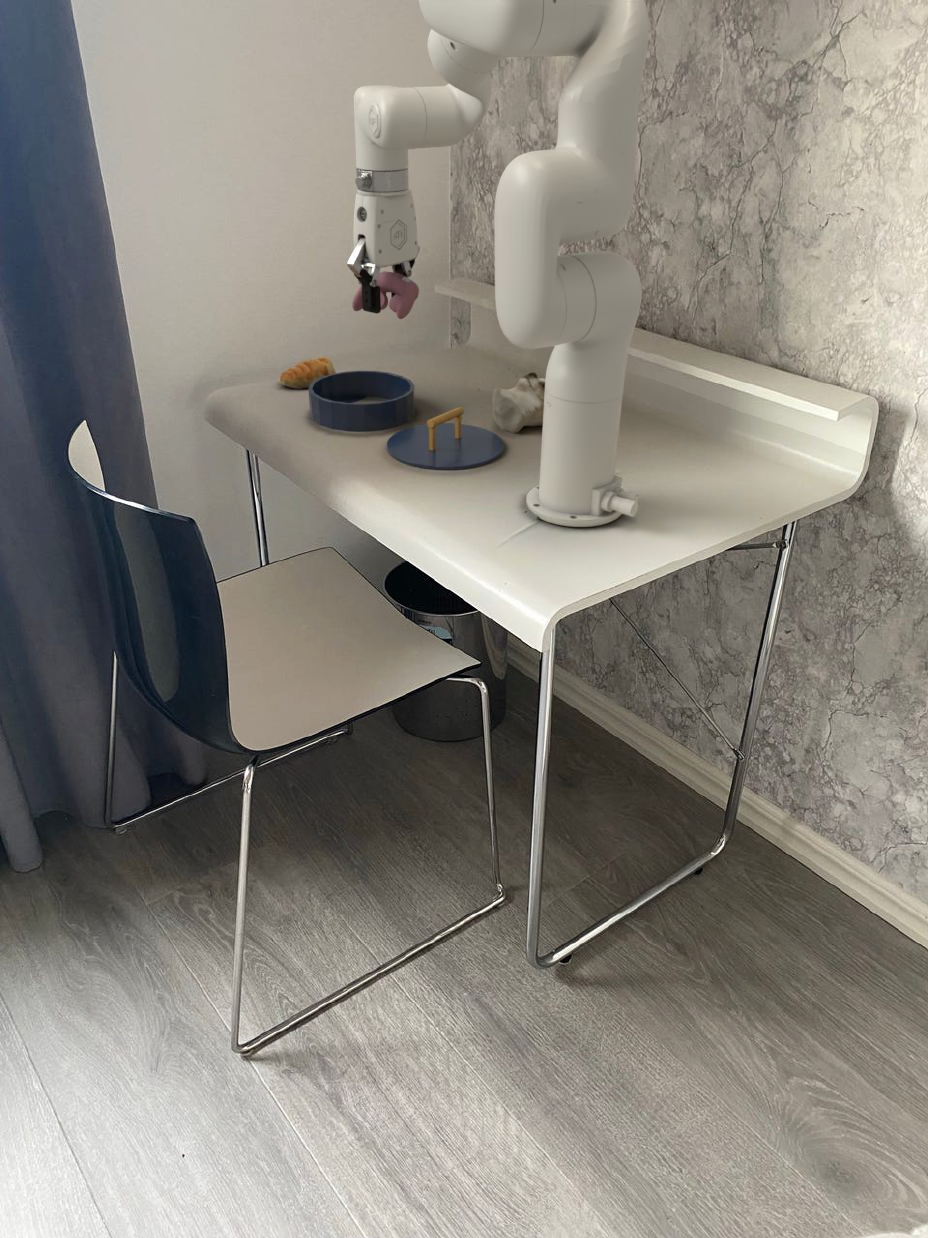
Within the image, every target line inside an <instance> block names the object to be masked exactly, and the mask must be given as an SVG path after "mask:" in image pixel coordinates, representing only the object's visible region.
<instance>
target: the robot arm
mask: <svg viewBox="0 0 928 1238" xmlns="http://www.w3.org/2000/svg"><path fill="white" fill-rule="evenodd" d="M418 3H419V10H420V12H421V15H422V17H423V19H424V22H425V23H426V24H427V26H428V27H429V28H430V31H429V33H428V37H427V52H428V56H429V59H430V63H431V64H432V66H433V68H434V69H435V71H436V72H437V74H438V75H439V77H440V78H442V79H443V80H444V81H445V82H446V83H447V84H446V85H437V86H436V85H435V86H432V85H431V86H430V85H429V86H409V87H400V86H395V85H381V84H380V85H379V84H378V85H377V84H376V85H363V86H360V87H358V88H357V89H356V90H355V91H354V94H353V125H354V147H355V148H354V149H355V168H356V169H355V171H356V173H355V174H356V178H355V185H356V191H357V192H356V193H355V199H354V207H353V208H354V209H353V222H352V223H353V224H352V225H353V227H352V229H353V231H352V232H353V233H352V234H353V235H352V237H353V239H352V241H353V251H352V253H351V255H350V257H349V259H348V260H347V264H346V265H347V267H348V269H349V270H350V271H351V272H352V273H353V275H354V277H355V278H356V280H357V282H358V284H359V285H360V286H361V285H362V307H363V308H362V310H363V312H368V313H372V314H377V315H378V314H380V313H381V312H382V310H381V300H380V286H376V285H377V281H378V277H379V273H381V272H380V271H381V268H382V269H383V268H388V267H391V269H392V272H394V273H399V274H401V275H404V276H406V277H408V278H411V277H412V274H413V272H412V269H413V267H414V265H415V263H416V259H417V257H418V255H419V254H420V251H421V247H420V245H419V244H418V227H417V226H418V225H417V215H416V207H415V202H414V201H415V200H414V196H413V192H412V190H411V189H409V150H416V149H431V148H444V147H445V148H446V147H447V148H448V147H451V146H455V145H457V144H458V143H461V142H462V141H463V140H464V139H466V138H467V137H469V135H470V134H471V133H472V132H473V130H475V129H476V128H477V126H479V124H480V123H481V122H482V121H483V119H484V118H485V116H486V114H487V113H488V109H489V106H490V102H491V97H492V88H493V84H492V83H493V81H492V74H491V72H492V71H493V70H494V68H495V67H496V66H497V64H498V63H500V61H501V60H502V59H503V57H504V58H536V57H537V58H546V57H547V58H550V57H551V58H552V57H568V56H569V57H575V58H577V59H578V60H577V62H576V63H575V65H574V66H573V68H572V69H571V71H570V73H569V74H568V77H567V79H566V81H565V84H564V86H563V89H562V92H561V94H560V97H559V101H558V107H557V136H556V137H557V138H556V144H555V148H554V149H553V148H552V149H540V150H532V151H527V152H525V153H521V154H520V155H518V156H517V157H515V158H514V159H512V160H511V161H510V162H509V163H508V164H507V166H506V167H505V169H504V170H503V172H502V174H501V176H500V178H499V182H498V184H497V187H496V191H495V192H496V193H495V198H494V215H493V216H494V219H493V221H494V223H493V226H494V228H493V229H494V231H493V232H494V234H493V235H494V301H495V310H496V317H497V321H498V323H499V324H498V325H499V328H500V330H501V331H502V335H504V337H505V338H506V339H507V341H508V342H509V343H510V344H511V345H513V346H515V347H517V348H520V349H524V350H538V349H544V348H550V347H551V348H552V347H553V349H552V350H551V351H552V352H551V354H550V356H549V360H548V363H547V366H546V370H545V378H544V379H545V394H544V412H543V425H542V432H541V433H542V434H541V449H540V465H539V484H537V485H536V486H534V487H532V488H531V489H530V490H529V491H528V492H527V494H526V498H525V500H526V506H527V508H528V509H529V510H530V512H532V513H533V514H535V515H536V516H537V518H538V519H540V520H541V521H544V522H547V523H551V524H554V525H557V526H562V527H563V526H564V527H573V528H588V527H596V526H597V527H598V526H603V525H606V524H610V523H611V522H613V521H616V520H617V519H618V518H619V517H621V516H622V515H626V516H630V517H631V518H633V517H635V516H636V515H637V513H638V512H639V505H640V503H639V501H640V495H639V494H636V493H633V492H629V491H625V490H624V489H623V488H622V483H623V477H622V476H619V475H616V467H617V457H618V447H619V436H620V426H621V425H620V424H621V415H622V406H623V398H624V397H623V396H624V388H625V379H626V371H627V363H628V362H627V361H628V357H629V352H630V346H631V341H632V338H633V334H634V331H635V328H636V324H637V321H638V317H639V314H640V310H641V304H642V299H643V289H642V287H643V286H642V280H641V278H640V274H639V272H638V270H637V268H636V267H635V265H634V264H633V262H632V261H630V259H628V258H627V257H626V256H624V255H623V254H620V253H616V252H613V251H609V250H590V251H583V252H576V253H569V254H562V255H559V247H560V245H566V244H572V243H580V242H589V241H595V240H601V239H605V238H608V237H612V236H614V235H616V234H618V233H620V232H621V231H622V230H623V229H624V228H625V227H626V226H627V224H628V223H629V221H630V218H631V215H632V211H633V210H632V209H633V204H634V195H635V180H636V161H637V159H636V158H637V143H638V125H639V123H638V119H639V118H638V113H639V103H640V92H641V87H642V80H643V77H644V70H645V65H646V59H647V55H648V49H649V48H648V47H649V39H650V23H649V22H650V20H649V13H648V7H647V5H646V0H418ZM369 269H371V272H370V273H371V275H370V273H369ZM394 295H395V293H391V292H390V296H391V297H390V299H391V298H392V297H393V296H394Z"/></svg>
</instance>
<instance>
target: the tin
mask: <svg viewBox="0 0 928 1238" xmlns="http://www.w3.org/2000/svg"><path fill="white" fill-rule="evenodd" d="M415 394H416V393H415V384H414V382H413V381H412V380H411V379H409V378H408V377H405V376H403V375H399V374H396V373H393V372H389V371H387V372H386V371H379V370H350V371H342V372H336V373H335V374H330V375H327V376H324V377H321V378H318V379H317V380H315V381H314V382H312V383H311V385H310V387H309V388H308V401H309V414H310V419H312V421H313V422H315V424H318V425H319V426H321V427H325V428H327V429H330V430H335V431H343V432H351V433H352V432H355V433H358V432H359V433H368V432H379V431H386V430H390V429H395V428H398V427H400V426H403V425H405V424H408V423H409V422H410V421H411V420H412V419H413V418H414V417H415V413H416V403H415V402H416V401H415V399H416V398H415V397H416V395H415ZM367 398H376V399H384V400H383V401H376V402H367V403H366V402H364V403H363V402H358V401H361V400H363V399H367Z"/></svg>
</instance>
